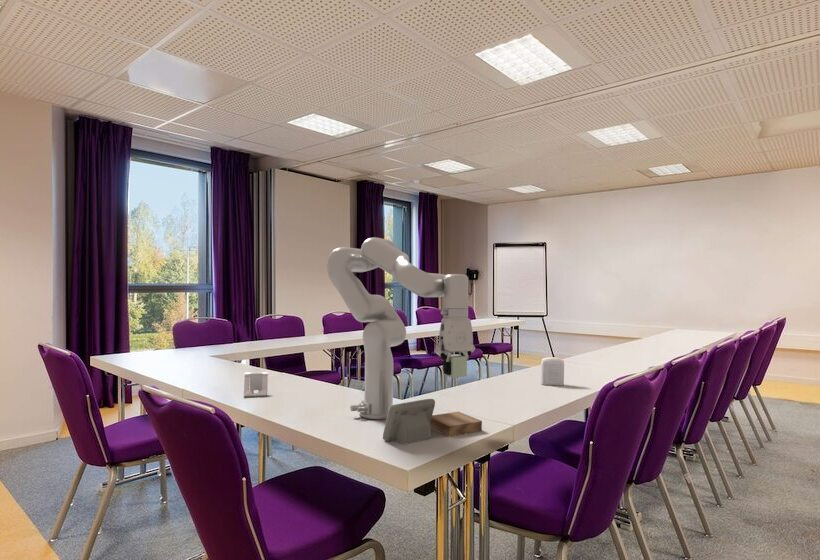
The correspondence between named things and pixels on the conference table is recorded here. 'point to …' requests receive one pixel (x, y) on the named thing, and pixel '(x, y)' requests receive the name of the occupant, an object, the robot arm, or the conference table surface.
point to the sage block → (458, 366)
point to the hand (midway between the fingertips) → (454, 372)
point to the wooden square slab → (455, 423)
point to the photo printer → (552, 371)
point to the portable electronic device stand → (256, 384)
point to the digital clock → (409, 421)
